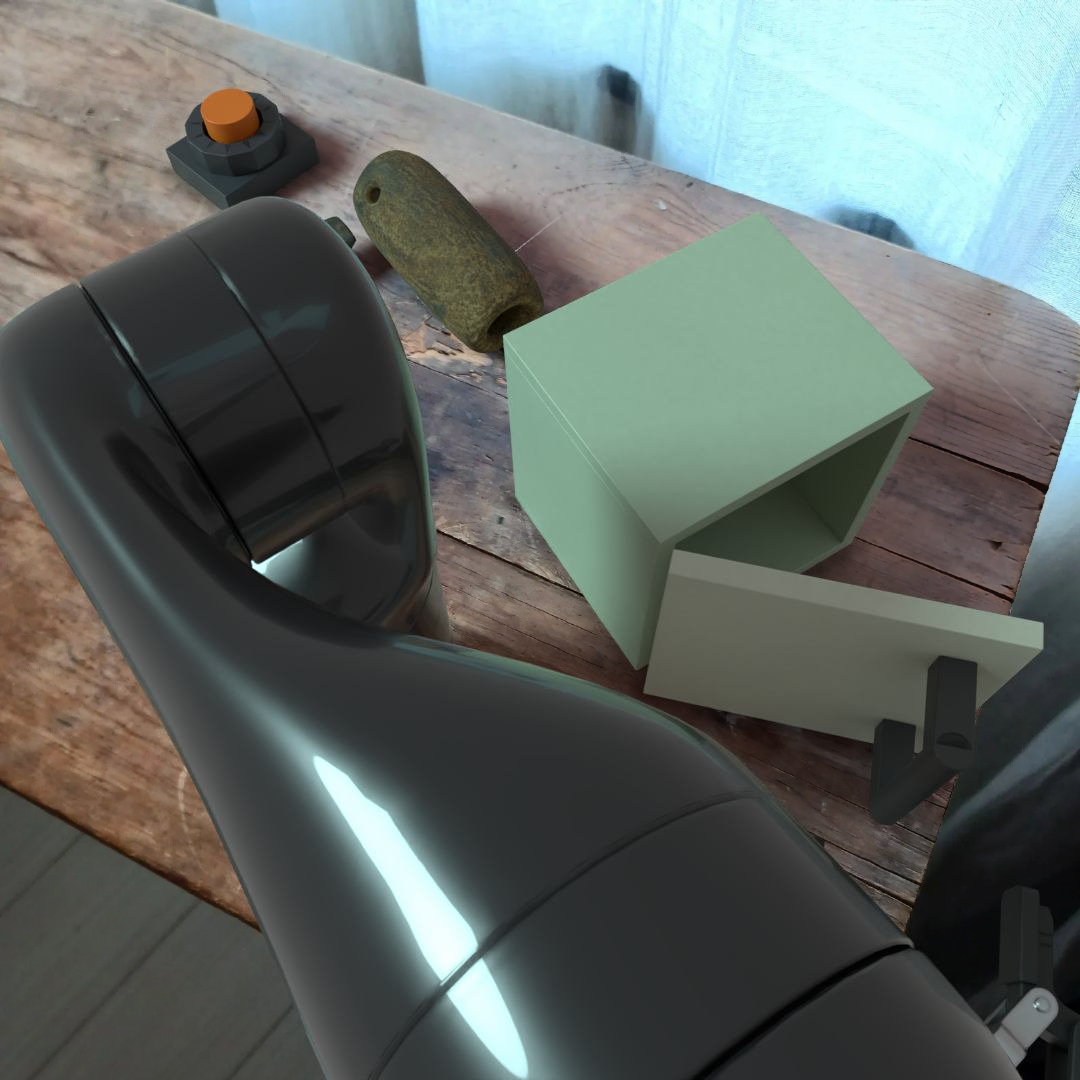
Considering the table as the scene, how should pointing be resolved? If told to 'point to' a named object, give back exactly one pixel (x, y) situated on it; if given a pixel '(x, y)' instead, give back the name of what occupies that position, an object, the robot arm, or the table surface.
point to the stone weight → (445, 250)
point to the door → (838, 665)
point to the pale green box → (703, 421)
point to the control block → (243, 157)
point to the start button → (230, 116)
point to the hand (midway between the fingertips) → (913, 864)
